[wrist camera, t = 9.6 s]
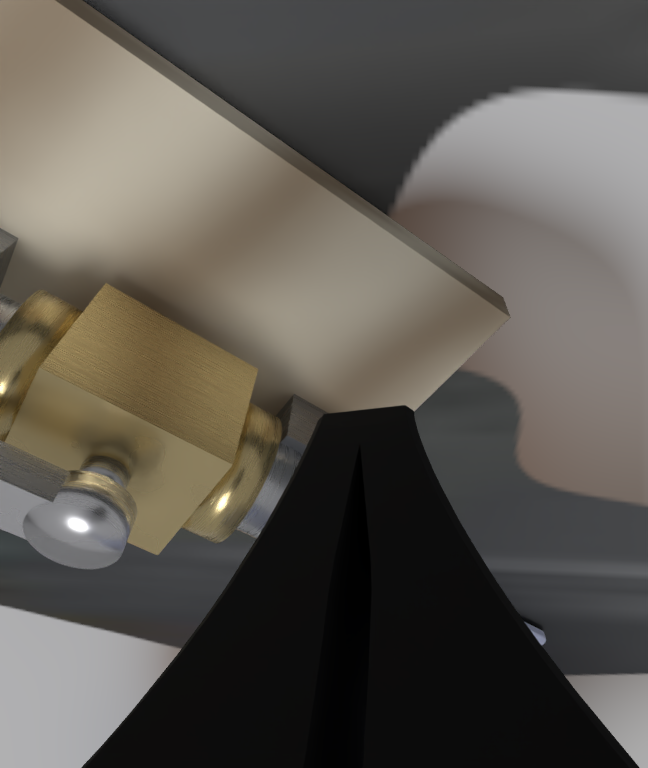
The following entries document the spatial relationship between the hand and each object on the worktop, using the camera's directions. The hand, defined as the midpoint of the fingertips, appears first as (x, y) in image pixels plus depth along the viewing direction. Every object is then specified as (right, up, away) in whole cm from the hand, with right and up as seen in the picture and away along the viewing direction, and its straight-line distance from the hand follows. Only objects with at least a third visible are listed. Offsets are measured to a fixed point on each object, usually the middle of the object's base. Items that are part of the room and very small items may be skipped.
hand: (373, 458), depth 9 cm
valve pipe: (-6, +2, +9) cm, 11 cm away
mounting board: (-6, +3, +10) cm, 12 cm away
